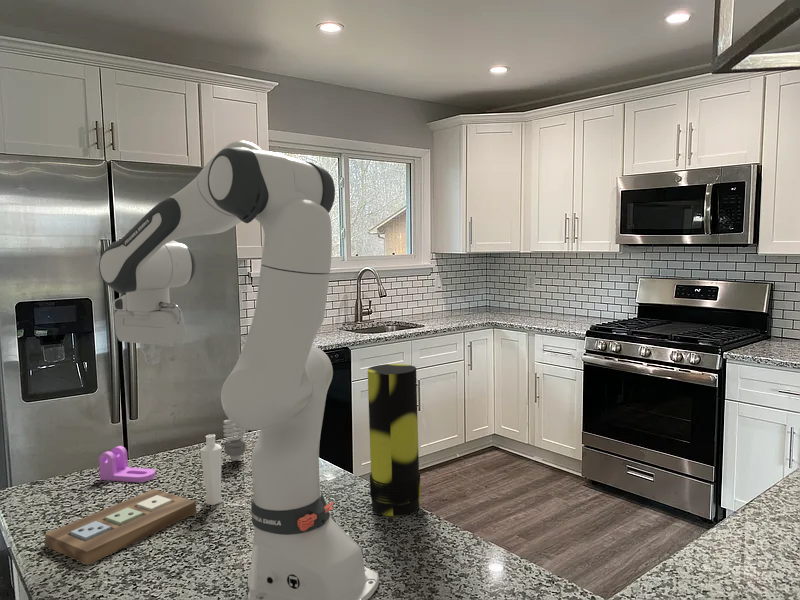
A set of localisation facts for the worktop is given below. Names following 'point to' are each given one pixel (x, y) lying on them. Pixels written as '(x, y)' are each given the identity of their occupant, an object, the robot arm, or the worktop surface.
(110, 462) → the bracket
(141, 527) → the dice board
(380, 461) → the container
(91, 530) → the tile
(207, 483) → the white faceted bottle
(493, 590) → the worktop surface
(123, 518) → the tile
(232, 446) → the light bulb
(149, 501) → the tile
